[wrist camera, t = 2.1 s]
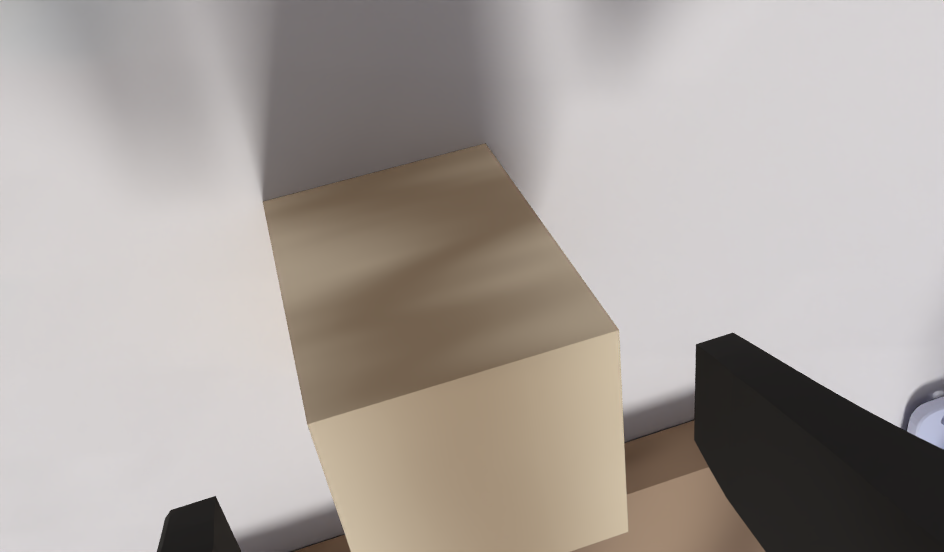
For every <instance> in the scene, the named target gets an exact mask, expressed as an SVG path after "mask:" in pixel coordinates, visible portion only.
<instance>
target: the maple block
mask: <svg viewBox="0 0 944 552" xmlns="http://www.w3.org/2000/svg"><path fill="white" fill-rule="evenodd" d="M263 205H264V210H265V215H266V220H267V225H268V230H269V235H270V240H271V245H272V250H273V255H274V260H275V265H276V270H277V275H278V280H279V285H280V290H281V295H282V300H283V305H284V310H285V315H286V320H287V325H288V330H289V335H290V340H291V345H292V350H293V355H294V360H295V365H296V370H297V375H298V380H299V385H300V390H301V395H302V400H303V405H304V410H305V415H306V420H307V425H308V427H309V430H310V433H311V436H312V439H313V442H314V445H315V448H316V451H317V454H318V457H319V460H320V463H321V466H322V468H323V471H324V474H325V477H326V480H327V483H328V486H329V489H330V492H331V495H332V498H333V501H334V504H335V506H336V509H337V512H338V515H339V518H340V521H341V524H342V527H343V530H344V533H345V536H346V539H347V542H348V545H349V547H350V550H351V552H571V551H574V550H576V549H579V548H582V547H585V546H588V545H591V544H594V543H597V542H600V541H603V540H606V539H609V538H612V537H614V536H617V535H620V534H623V533H626V532H628V514H627V493H626V471H625V449H624V428H623V406H622V384H621V363H620V341H619V329H618V328H617V327H616V325H615V324H614V322H613V321H612V320H611V318H610V317H609V315H608V314H607V313H606V311H605V310H604V308H603V307H602V306H601V304H600V303H599V301H598V300H597V299H596V297H595V296H594V294H593V293H592V292H591V290H590V289H589V287H588V286H587V285H586V283H585V282H584V280H583V279H582V278H581V276H580V275H579V273H578V272H577V271H576V269H575V268H574V266H573V265H572V264H571V262H570V261H569V259H568V258H567V257H566V255H565V254H564V252H563V251H562V250H561V248H560V247H559V246H558V244H557V243H556V241H555V240H554V239H553V237H552V236H551V234H550V233H549V232H548V230H547V229H546V227H545V226H544V225H543V223H542V222H541V220H540V219H539V218H538V216H537V215H536V213H535V212H534V211H533V209H532V208H531V206H530V205H529V204H528V202H527V201H526V199H525V198H524V197H523V195H522V194H521V192H520V191H519V190H518V188H517V187H516V185H515V184H514V183H513V181H512V180H511V178H510V177H509V176H508V174H507V173H506V171H505V170H504V169H503V167H502V166H501V164H500V163H499V162H498V160H497V159H496V157H495V156H494V155H493V153H492V152H491V150H490V149H489V148H488V146H487V145H486V143H485V144H481V145H478V146H474V147H470V148H466V149H462V150H458V151H455V152H451V153H447V154H443V155H439V156H435V157H432V158H428V159H424V160H420V161H416V162H412V163H409V164H405V165H401V166H397V167H393V168H389V169H386V170H382V171H378V172H374V173H370V174H366V175H363V176H359V177H355V178H351V179H347V180H343V181H340V182H336V183H332V184H328V185H324V186H320V187H317V188H313V189H309V190H305V191H301V192H297V193H294V194H290V195H286V196H282V197H278V198H274V199H271V200H267V201H263Z"/></svg>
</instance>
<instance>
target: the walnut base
mask: <svg viewBox="0 0 944 552" xmlns="http://www.w3.org/2000/svg"><path fill="white" fill-rule="evenodd" d="M624 449H625V471H626V493H627V514H628V532H626V533H623V534H620V535H617V536H614V537H612V538H609V539H606V540H603V541H600V542H597V543H594V544H591V545H588V546H585V547H582V548H579V549H576V550H574V551H571V552H766V551H765V550H764V549H763V547H762V546H761V545H760V543H759V542H758V541H757V539H756V538H755V537H754V535H753V534H752V532H751V531H750V530H749V528H748V527H747V526H746V524H745V523H744V522H743V520H742V519H741V517H740V516H739V515H738V513H737V512H736V511H735V509H734V508H733V506H732V505H731V504H730V502H729V501H728V499H727V498H726V496H725V495H724V493H723V491H722V489H721V488H720V486H719V484H718V482H717V481H716V479H715V477H714V475H713V474H712V472H711V470H710V468H709V467H708V465H707V463H706V461H705V459H704V457H703V455H702V454H701V452H700V450H699V448H698V446H697V444H696V443H695V441H694V421H691V422H688V423H685V424H681V425H678V426H675V427H672V428H669V429H666V430H663V431H660V432H657V433H654V434H651V435H648V436H645V437H642V438H639V439H636V440H632V441H629V442H626V443H624ZM293 552H351V550H350V547H349V545H348V542H347V539H346V536H345V535H342V536H339V537H336V538H333V539H330V540H327V541H323V542H320V543H317V544H314V545H311V546H308V547H305V548H302V549H299V550H296V551H293Z"/></svg>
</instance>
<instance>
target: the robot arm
mask: <svg viewBox="0 0 944 552" xmlns="http://www.w3.org/2000/svg"><path fill="white" fill-rule="evenodd" d="M694 441H695V443H696V444H697V446H698V448H699V450H700V452H701V454H702V455H703V457H704V459H705V461H706V463H707V465H708V467H709V468H710V470H711V472H712V474H713V475H714V477H715V479H716V481H717V482H718V484H719V486H720V488H721V489H722V491H723V493H724V495H725V496H726V498H727V499H728V501H729V502H730V504H731V505H732V506H733V508H734V509H735V511H736V512H737V513H738V515H739V516H740V517H741V519H742V520H743V522H744V523H745V524H746V526H747V527H748V528H749V530H750V531H751V532H752V534H753V535H754V537H755V538H756V539H757V541H758V542H759V543H760V545H761V546H762V547H763V549H764V550H765V551H766V552H944V396H943V397H940V398H937V399H934V400H931V401H928V402H926V403H924V404H921V405H920V406H919V407H917V408H916V409H915V410H914V412H913V413H912V414H911V417H910V420H909V424H908V429H907V431H905V430H903V429H901V428H899V427H897V426H895V425H893V424H891V423H889V422H887V421H885V420H884V419H882V418H880V417H878V416H876V415H874V414H872V413H870V412H869V411H867V410H865V409H863V408H861V407H859V406H858V405H856V404H854V403H852V402H850V401H849V400H847V399H845V398H843V397H841V396H840V395H838V394H836V393H834V392H833V391H831V390H829V389H827V388H826V387H824V386H822V385H820V384H819V383H817V382H815V381H814V380H812V379H810V378H809V377H807V376H805V375H803V374H802V373H800V372H798V371H797V370H795V369H793V368H792V367H790V366H788V365H787V364H785V363H783V362H782V361H780V360H778V359H777V358H775V357H773V356H772V355H770V354H768V353H767V352H765V351H763V350H762V349H760V348H758V347H757V346H755V345H753V344H752V343H750V342H748V341H747V340H745V339H743V338H741V337H740V336H738V335H736V334H734V333H731V334H727V335H724V336H721V337H718V338H715V339H712V340H708V341H705V342H702V343H699V344H696V373H695V418H694ZM157 552H241V550H240V548H239V546H238V544H237V541H236V539H235V537H234V535H233V533H232V531H231V528H230V526H229V524H228V522H227V520H226V518H225V515H224V513H223V511H222V509H221V507H220V505H219V502H218V500H217V498H216V496H214V497H211V498H208V499H205V500H202V501H198V502H195V503H192V504H189V505H186V506H183V507H179V508H176V509H173V510H171V511H170V512H169V514H168V515H167V517H166V518H165V521H164V526H163V530H162V534H161V538H160V542H159V546H158V549H157Z"/></svg>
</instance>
